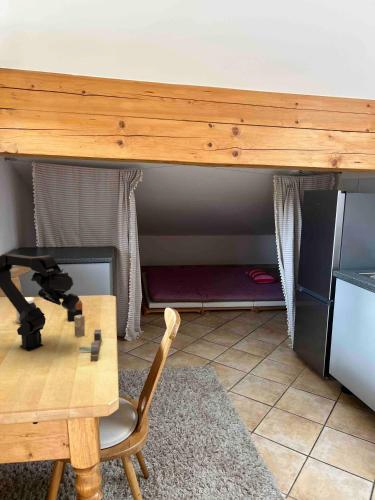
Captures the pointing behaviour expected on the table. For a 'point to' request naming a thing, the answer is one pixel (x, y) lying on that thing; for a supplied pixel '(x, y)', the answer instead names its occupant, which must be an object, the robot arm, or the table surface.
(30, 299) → the spread jar
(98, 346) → the rail
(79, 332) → the tan wooden block
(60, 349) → the table surface
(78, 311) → the battery
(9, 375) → the table surface
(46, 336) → the table surface
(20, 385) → the table surface
